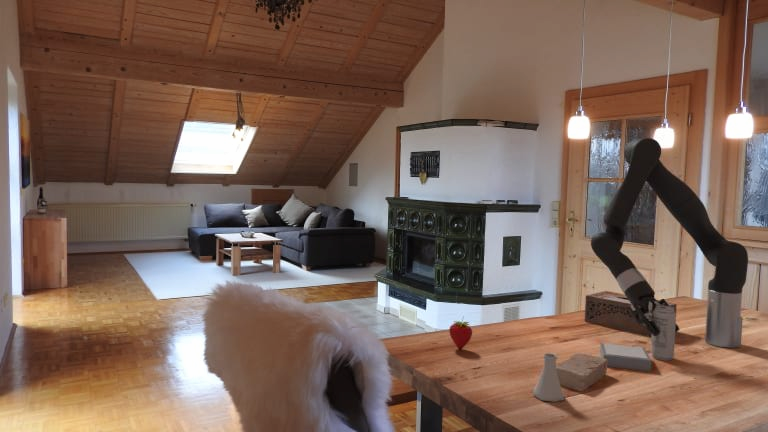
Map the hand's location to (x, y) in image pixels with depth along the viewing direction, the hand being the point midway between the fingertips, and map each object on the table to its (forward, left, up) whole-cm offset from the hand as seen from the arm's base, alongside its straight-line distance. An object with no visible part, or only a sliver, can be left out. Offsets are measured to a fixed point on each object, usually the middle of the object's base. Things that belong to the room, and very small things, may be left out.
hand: (667, 333), depth 155 cm
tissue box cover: (+6, -36, -8) cm, 37 cm away
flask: (+32, +41, -8) cm, 53 cm away
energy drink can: (+1, -1, -8) cm, 8 cm away
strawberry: (+58, +13, -8) cm, 60 cm away
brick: (+24, +26, -8) cm, 36 cm away
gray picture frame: (+12, +7, -8) cm, 16 cm away
